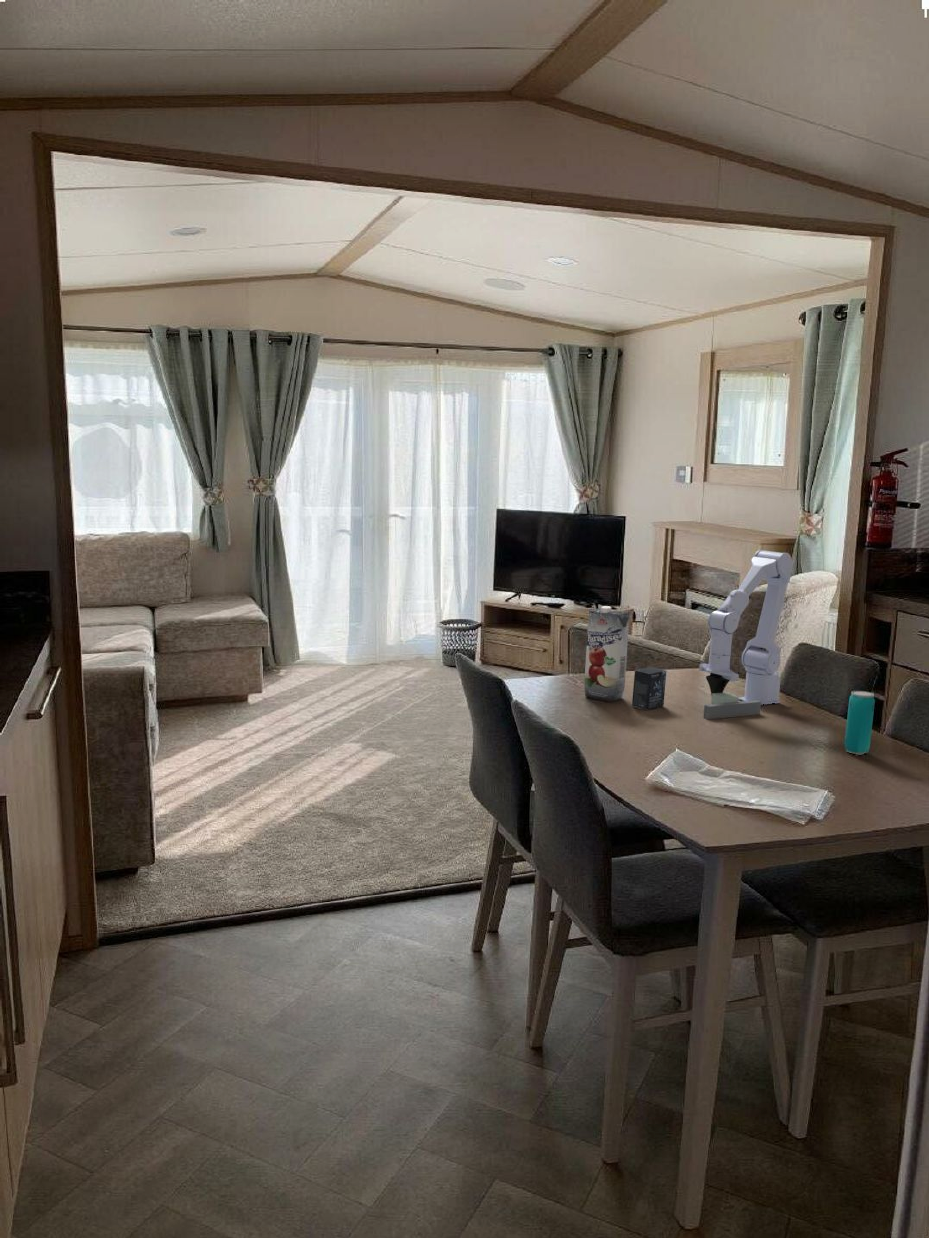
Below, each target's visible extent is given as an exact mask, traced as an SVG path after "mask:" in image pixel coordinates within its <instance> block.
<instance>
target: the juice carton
mask: <svg viewBox="0 0 929 1238" xmlns="http://www.w3.org/2000/svg"><path fill="white" fill-rule="evenodd" d="M629 624H630V611H627V610H614V609H612V606H608V605H603V606H601V607H598V608H595V609H591V610H589V612H588V622H587V632H586V633H587V634H586V635H587V636H586V650H585V651H586V652H585V668H584V696H585V698H588V697H591V698H590V699H593V698H595V699H594V700H598V699H599V701H604V702H609V703H613V702H614V701H617V700H620V699H622V698H623V696H624V695H623V694H624V691H625V686H626V673H627V672H626V671H627V661H628V660H627V658H628V643H629V642H628V641H629V627H630V625H629ZM619 698H620V699H619Z"/></svg>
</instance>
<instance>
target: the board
mask: <svg viewBox="0 0 929 1238" xmlns="http://www.w3.org/2000/svg"><path fill="white" fill-rule="evenodd" d="M761 706H762V705H761V702H760V701H757V700H752V701H742V700H740V701H738V702H730V703H719V704H711V703H710V704H704V706H703V707H704V708H703V716H702V717H703V718H704V719H707V720H713V719H725V718H733V717H744V716H753V715H760V714H761V708H762V707H761Z"/></svg>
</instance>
